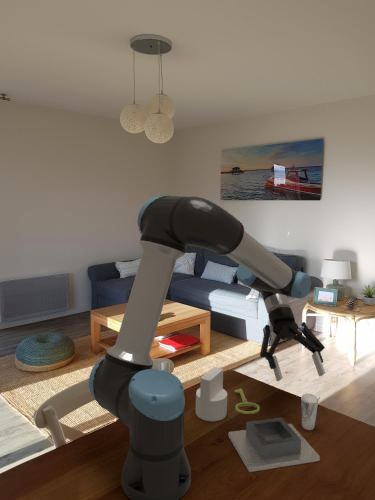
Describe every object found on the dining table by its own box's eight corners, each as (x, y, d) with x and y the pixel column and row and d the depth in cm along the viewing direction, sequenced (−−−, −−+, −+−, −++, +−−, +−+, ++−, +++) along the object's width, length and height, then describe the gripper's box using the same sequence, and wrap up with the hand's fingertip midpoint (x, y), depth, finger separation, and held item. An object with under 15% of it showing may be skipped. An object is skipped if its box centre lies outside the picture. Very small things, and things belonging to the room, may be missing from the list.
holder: (249, 472, 91) (249, 453, 90) (228, 436, 104) (228, 419, 103) (319, 460, 95) (320, 442, 94) (290, 427, 108) (291, 411, 108)
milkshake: (312, 435, 105) (314, 399, 104) (296, 425, 109) (297, 391, 108) (322, 429, 108) (325, 394, 106) (306, 420, 112) (308, 386, 111)
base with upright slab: (218, 424, 109) (219, 383, 108) (190, 415, 114) (190, 375, 112) (231, 409, 117) (233, 371, 115) (204, 401, 121) (205, 364, 120)
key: (240, 393, 128) (241, 387, 127) (262, 413, 117) (263, 406, 116) (221, 397, 125) (221, 391, 125) (241, 418, 114) (241, 411, 113)
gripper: (309, 314, 132) (333, 377, 120) (239, 319, 126) (256, 385, 114) (319, 303, 126) (345, 368, 114) (246, 307, 120) (265, 376, 108)
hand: (301, 377), depth 114 cm, fingers open, 13 cm apart
